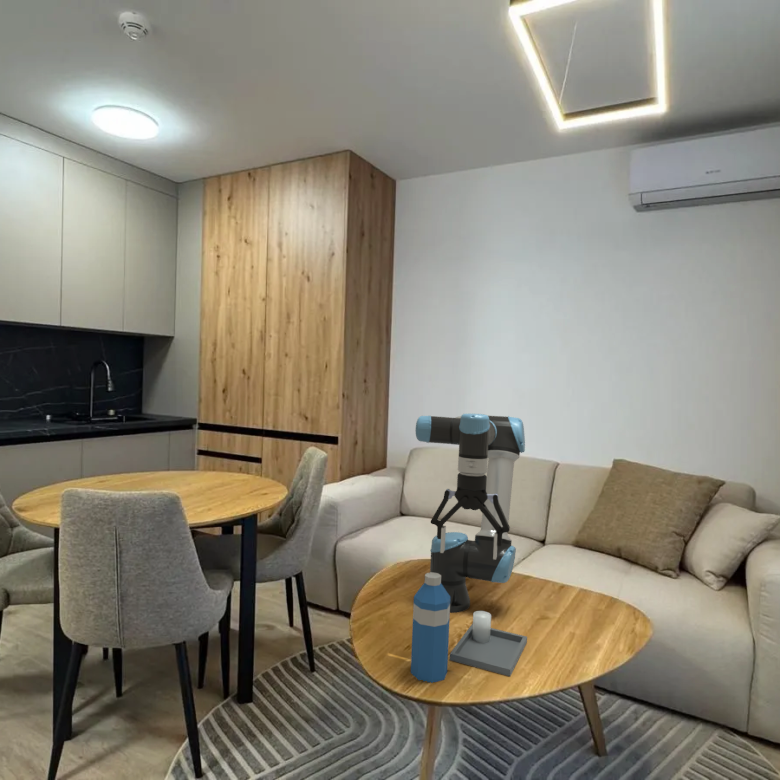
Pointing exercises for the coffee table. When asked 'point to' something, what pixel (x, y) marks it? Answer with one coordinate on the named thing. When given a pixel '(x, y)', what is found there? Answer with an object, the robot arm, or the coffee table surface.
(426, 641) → the water bottle
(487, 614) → the white rounded column
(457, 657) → the tray
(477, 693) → the coffee table surface
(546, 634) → the coffee table surface
